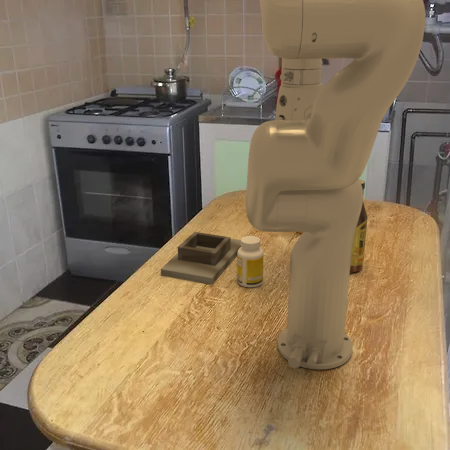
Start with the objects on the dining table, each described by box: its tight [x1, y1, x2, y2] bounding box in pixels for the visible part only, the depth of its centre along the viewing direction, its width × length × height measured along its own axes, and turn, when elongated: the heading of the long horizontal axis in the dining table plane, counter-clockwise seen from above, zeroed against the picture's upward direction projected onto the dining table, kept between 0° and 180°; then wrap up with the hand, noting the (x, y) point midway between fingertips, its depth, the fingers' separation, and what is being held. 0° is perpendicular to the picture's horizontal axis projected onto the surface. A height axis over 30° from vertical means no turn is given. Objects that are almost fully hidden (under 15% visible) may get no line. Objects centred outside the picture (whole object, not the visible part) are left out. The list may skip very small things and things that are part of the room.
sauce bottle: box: [350, 178, 369, 274], centre depth 118 cm, size 7×6×20 cm
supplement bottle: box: [236, 235, 264, 288], centre depth 114 cm, size 5×5×10 cm
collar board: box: [160, 231, 241, 285], centre depth 124 cm, size 20×12×4 cm, turn 158°
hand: (297, 163), depth 112 cm, fingers open, 9 cm apart
